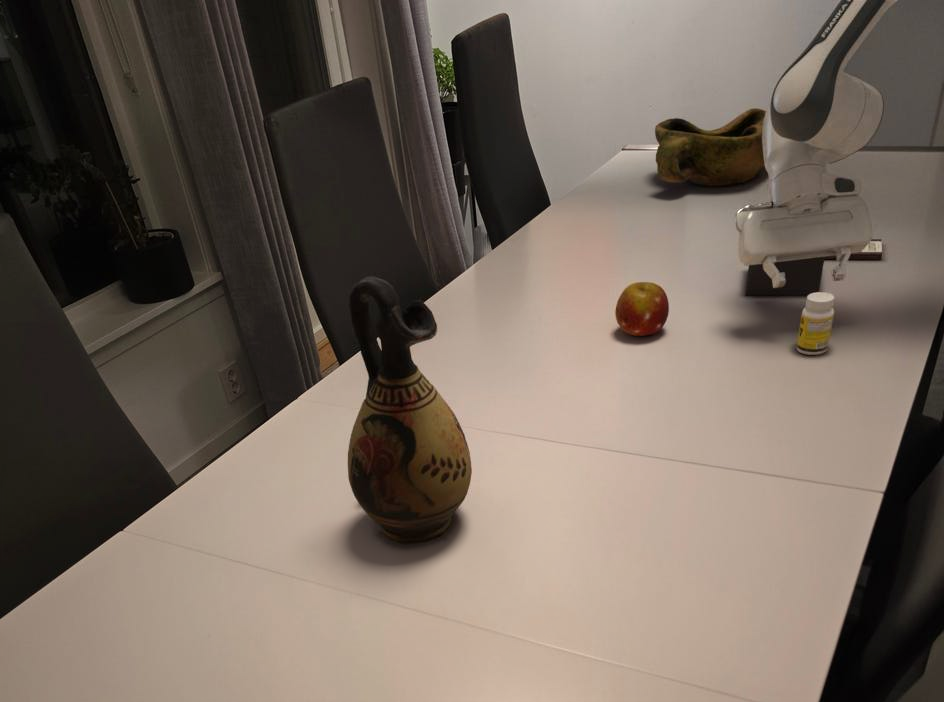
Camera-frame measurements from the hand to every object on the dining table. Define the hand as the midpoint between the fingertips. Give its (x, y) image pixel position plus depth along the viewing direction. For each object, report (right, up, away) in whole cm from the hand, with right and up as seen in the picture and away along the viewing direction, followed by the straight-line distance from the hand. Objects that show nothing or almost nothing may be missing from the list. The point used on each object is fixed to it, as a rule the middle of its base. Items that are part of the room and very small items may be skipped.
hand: (809, 282), depth 133 cm
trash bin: (+5, +10, +24) cm, 27 cm away
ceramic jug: (-61, -41, -23) cm, 78 cm away
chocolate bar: (+18, +20, +34) cm, 43 cm away
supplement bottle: (+1, -10, +2) cm, 10 cm away
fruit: (-24, -3, +14) cm, 28 cm away
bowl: (+8, +61, +81) cm, 102 cm away
